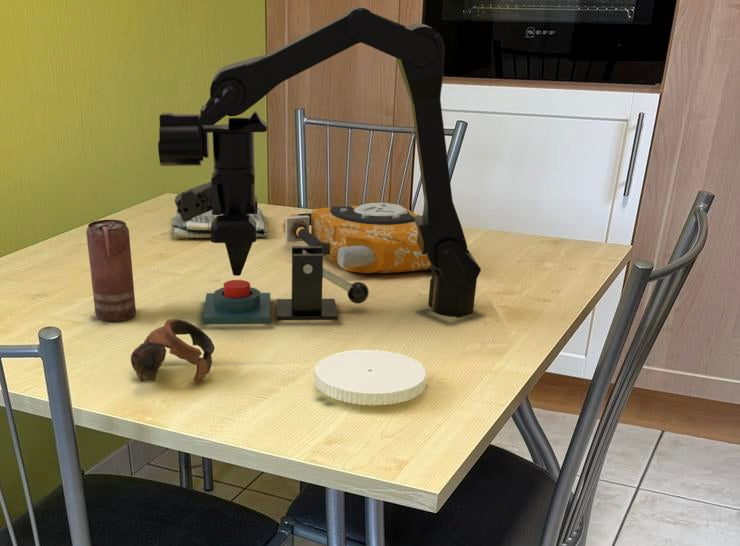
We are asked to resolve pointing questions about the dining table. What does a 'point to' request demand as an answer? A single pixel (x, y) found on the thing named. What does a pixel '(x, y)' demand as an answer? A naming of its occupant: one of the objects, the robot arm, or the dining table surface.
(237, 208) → the robot arm
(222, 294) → the button housing
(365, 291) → the lever handle
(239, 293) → the red button
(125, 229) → the can
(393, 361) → the plastic lid
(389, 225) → the device
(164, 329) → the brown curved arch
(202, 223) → the dish towel
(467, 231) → the dining table surface
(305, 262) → the lever bracket
